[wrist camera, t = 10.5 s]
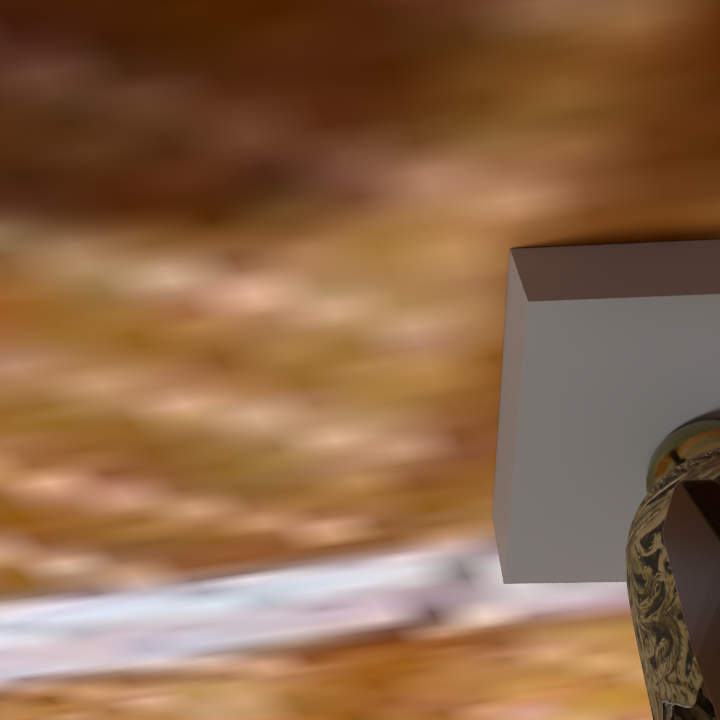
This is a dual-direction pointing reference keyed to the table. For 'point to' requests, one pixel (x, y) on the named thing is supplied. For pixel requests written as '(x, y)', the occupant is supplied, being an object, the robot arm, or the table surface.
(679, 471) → the ornate bronze lamp shade
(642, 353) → the plinth
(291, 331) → the table surface
